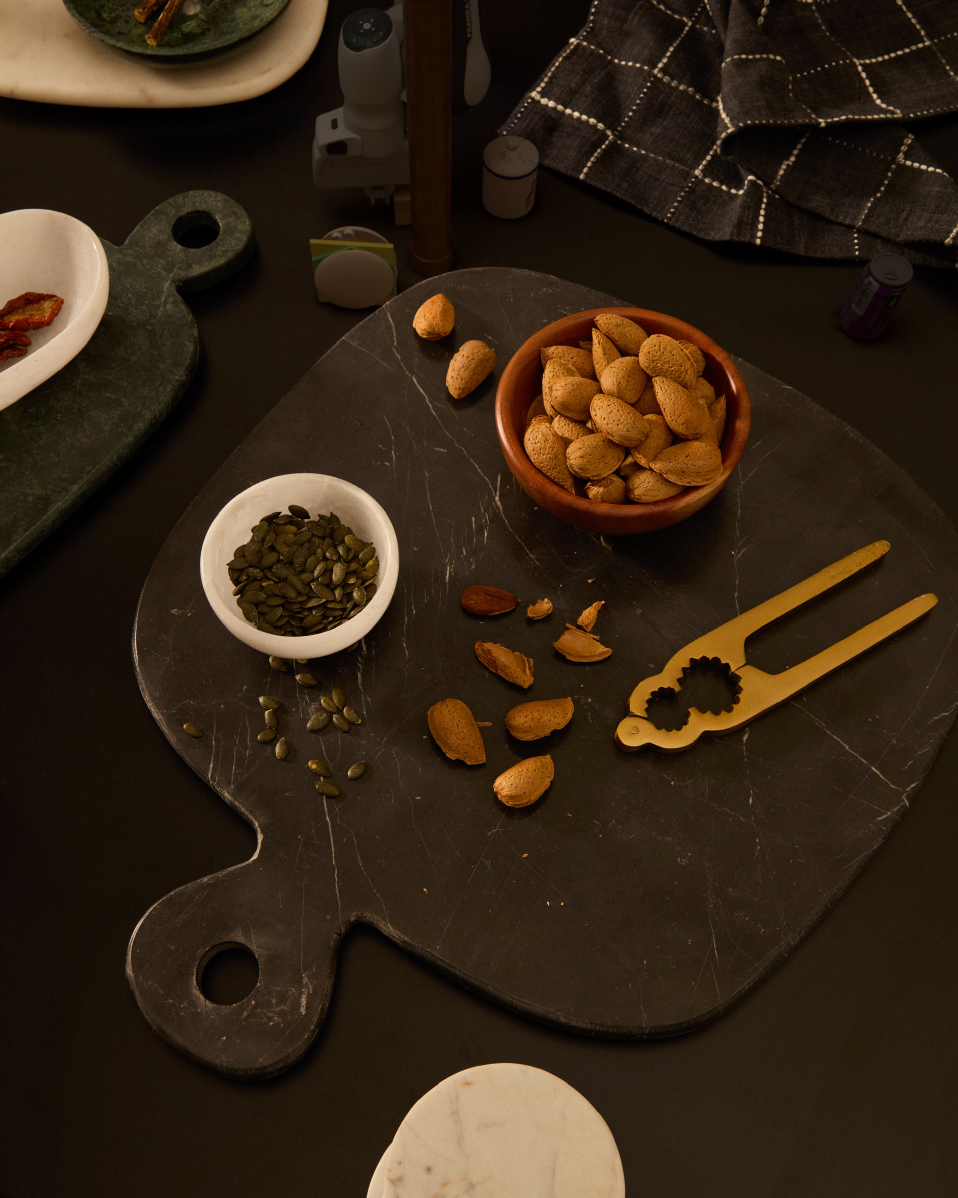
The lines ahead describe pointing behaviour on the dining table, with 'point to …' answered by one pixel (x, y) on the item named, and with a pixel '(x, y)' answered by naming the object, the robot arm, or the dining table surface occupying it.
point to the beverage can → (876, 296)
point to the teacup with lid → (509, 176)
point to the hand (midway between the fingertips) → (380, 202)
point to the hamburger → (354, 268)
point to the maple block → (402, 204)
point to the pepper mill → (429, 131)
